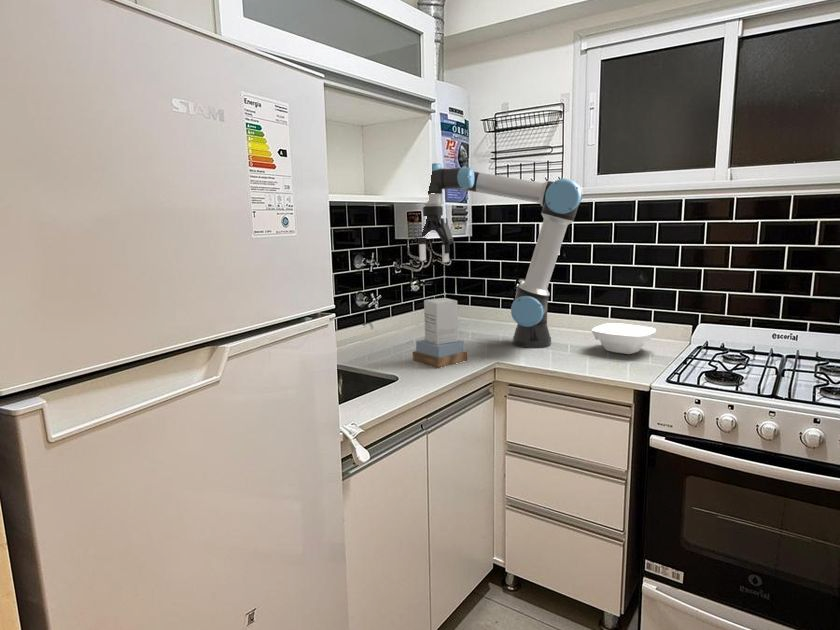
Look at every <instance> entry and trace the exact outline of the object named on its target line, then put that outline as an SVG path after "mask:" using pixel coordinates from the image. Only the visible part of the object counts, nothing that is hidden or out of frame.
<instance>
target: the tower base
mask: <svg viewBox="0 0 840 630" xmlns="http://www.w3.org/2000/svg"><path fill="white" fill-rule="evenodd" d="M468 359H469V357H468V351H464V352H462V353H458V354H454V355H450V356H446V357H442V358H436V357H433V356H429V355H425V354H422V353H418V352H417V350H414V351H412V361H413V362H416V363H420V364H422V365H425V366H428V365H429V367H431V366H432V368H434V367H435V368H434V369H437V368H438V369H441V367H442V368H445V366H446V367H450V366H453V364H454V365H457V364H456V363H458V364H461V363H460V362H462V363H464V362H463V361H466V362H468V361H467V360H468ZM449 365H450V366H449Z"/></svg>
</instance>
